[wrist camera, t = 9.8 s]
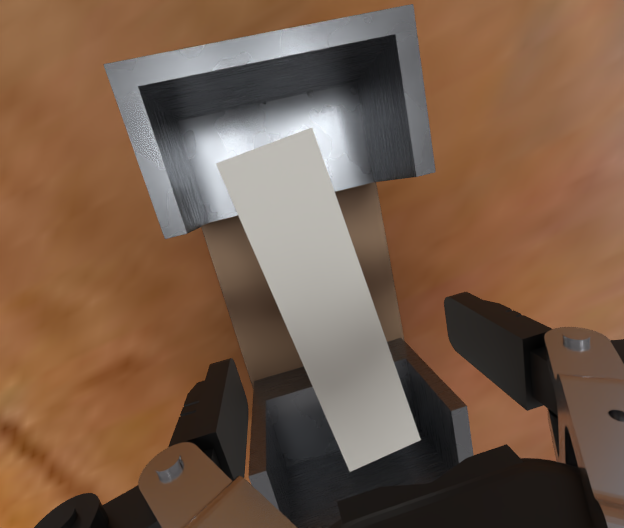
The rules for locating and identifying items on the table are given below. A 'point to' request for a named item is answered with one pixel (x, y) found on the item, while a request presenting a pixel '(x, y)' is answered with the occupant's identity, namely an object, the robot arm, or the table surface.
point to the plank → (260, 301)
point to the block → (321, 293)
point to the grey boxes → (343, 174)
